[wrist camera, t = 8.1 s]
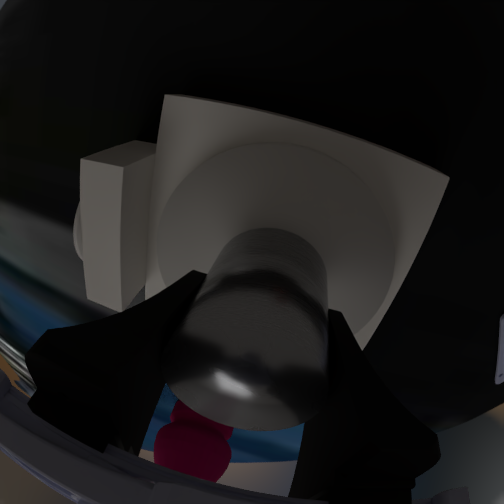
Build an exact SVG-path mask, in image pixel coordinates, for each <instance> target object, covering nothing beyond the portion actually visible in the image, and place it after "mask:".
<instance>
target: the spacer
mask: <svg viewBox="0 0 504 504" xmlns="http://www.w3.org/2000/svg"><path fill="white" fill-rule="evenodd" d="M161 370H162V374H163V377H164V379H165V381H166V383H167V385H168V386H169V388H170V389H171V390H172V392H173V393H174V394H175V395H176V396H177V397H178V398H179V399H180V400H181V401H182V402H183V403H184V404H185V405H187V406H188V407H189V408H191V409H192V410H194V411H195V412H197V413H199V414H200V415H202V416H204V417H206V418H208V419H210V420H213V421H215V422H218V423H221V424H224V425H227V426H231V427H234V428H239V429H245V430H254V431H273V430H281V429H286V428H290V427H294V426H297V425H299V424H302V423H304V422H306V421H308V420H310V419H311V418H312V417H314V416H315V415H316V414H317V413H318V412H319V411H320V410H321V409H322V408H323V406H324V405H325V402H326V400H327V397H328V387H329V315H328V282H327V271H326V267H325V264H324V262H323V260H322V258H321V256H320V255H319V253H318V252H317V251H316V249H315V248H314V247H313V246H312V245H311V244H310V243H309V242H307V241H306V240H305V239H303V238H302V237H300V236H298V235H296V234H294V233H292V232H289V231H286V230H282V229H278V228H256V229H252V230H248V231H245V232H243V233H240V234H239V235H237V236H235V237H234V238H232V239H231V240H230V241H229V242H228V243H227V244H226V245H225V246H224V247H223V249H222V250H221V252H220V253H219V255H218V257H217V258H216V260H215V262H214V264H213V265H212V267H211V269H210V270H209V272H208V274H207V275H206V277H205V279H204V280H203V282H202V284H201V286H200V287H199V289H198V291H197V292H196V294H195V296H194V298H193V299H192V301H191V303H190V304H189V306H188V308H187V310H186V311H185V313H184V315H183V317H182V318H181V320H180V322H179V324H178V325H177V327H176V329H175V331H174V332H173V334H172V336H171V338H170V339H169V341H168V343H167V345H166V346H165V348H164V350H163V353H162V356H161Z"/></svg>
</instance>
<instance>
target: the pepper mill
mask: <svg viewBox="0 0 504 504" xmlns="http://www.w3.org/2000/svg"><path fill="white" fill-rule="evenodd" d="M170 419H171V421H172V423H169V424H167V425H165V426H163V427H162V428H161V429H160V430H159V431H158V433H157V436H156V439H155V443H154V462H155V464H158V465H161V466H164V467H166V468H169V469H172V470H175V471H178V472H181V473H184V474H187V475H190V476H194V477H197V478H200V479H204V480H207V481H211V482H215V483H216V482H217V480H218V479H219V478H220V477H221V476H222V475H223V473H224V472H225V470H226V469H227V467H228V465H229V462H230V459H231V449H230V446H229V444H228V442H227V441H226V440H228V439H229V438H230V437H231V435H232V431H233V428H234V427H231V426H227V425H224V424H221V423H218V422H215V421H213V420H210V419H208V418H206V417H204V416H202V415H200V414H199V413H197V412H195V411H194V410H192V409H191V408H189V407H188V406H187V405H185V404H184V403H183V402H182V401H181V400H179V401H177V402H176V404H175V406H174V409H173V411H172V413H171V416H170Z"/></svg>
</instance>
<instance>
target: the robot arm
mask: <svg viewBox="0 0 504 504" xmlns="http://www.w3.org/2000/svg"><path fill="white" fill-rule="evenodd" d="M206 275H207V274H206V273H202V272H199V271H196V270H192V271H190V272H188V273H187V274H186V275H184V276H183V277H181V278H180V279H179V280H177V281H176V282H174V283H173V284H171V285H170V286H168V287H167V288H165V289H164V290H162V291H160V292H159V293H157V294H156V295H154V296H152V297H150V298H149V299H147V300H145V301H143V302H141V303H139V304H138V305H136V306H133V307H131V308H129V309H127V310H125V311H122V312H120V313H117V314H114V315H111V316H109V317H106V318H103V319H100V320H96V321H93V322H89V323H85V324H80V325H75V326H70V327H63V328H56V329H48V330H47V331H46V332H45V333H44V334H43V335H42V336H41V337H40V338H39V339H38V340H37V342H36V343H35V344H34V345H33V346H32V347H31V349H30V350H29V351H28V352H27V354H26V355H25V363H26V366H27V368H28V370H29V373H30V375H31V377H32V379H33V381H34V383H35V384H36V386H37V388H38V389H37V390H36V392H35V393H34V394H33V396H32V397H31V398H29V397H27V396H26V395H25V394H23V393H22V392H20V391H19V390H18V389H16V388H15V387H14V386H12V385H11V382H10V380H9V378H8V377H7V375H6V374H5V373H4V372H3V371H2V370H1V369H0V450H1V451H2V452H3V453H5V454H6V455H7V456H8V457H9V458H11V459H12V460H13V461H14V462H16V463H17V464H19V465H20V466H21V467H22V468H24V469H25V470H26V471H28V472H29V473H30V474H32V475H33V476H35V477H36V478H37V479H39V480H40V481H42V482H43V483H45V484H46V485H48V486H49V487H51V488H52V489H54V490H55V491H57V492H59V493H60V494H62V495H63V496H65V497H67V498H68V499H70V500H72V501H73V502H75V503H77V504H470V500H469V492H468V487H462V488H456V489H450V490H446V491H443V492H441V493H439V494H437V495H435V496H434V497H433V498H428V499H419V500H412V498H411V489H413V488H414V487H415V478H416V477H418V476H420V475H421V474H423V473H424V472H426V471H427V470H429V469H430V468H432V467H433V466H434V465H435V464H436V463H437V462H438V460H439V459H440V457H441V453H440V448H439V442H438V437H437V434H436V433H434V432H433V431H432V430H430V429H429V428H428V427H427V426H425V425H424V424H423V423H421V422H420V421H419V420H418V419H417V418H416V417H415V416H414V415H412V414H411V413H410V412H409V411H408V410H407V409H406V408H405V407H404V406H403V405H402V404H401V403H400V402H399V401H398V399H397V398H396V397H395V396H394V395H393V394H392V393H391V392H390V390H389V389H388V388H387V387H386V385H385V384H384V383H383V381H382V380H381V379H380V377H379V376H378V375H377V373H376V372H375V371H374V369H373V368H372V366H371V364H370V363H369V361H368V360H367V358H366V356H365V355H364V353H363V351H362V350H361V348H360V346H359V344H358V342H357V341H356V339H355V337H354V335H353V333H352V331H351V329H350V327H349V325H348V323H347V321H346V320H345V318H344V316H343V314H342V312H340V311H337V310H333V309H329V308H328V315H329V387H328V397H327V400H326V402H325V405H324V406H323V408H322V409H321V410H320V411H319V412H318V413H317V414H316V415H315V416H314V417H312V418H311V419H310V420H308V421H306V422H305V424H304V430H303V436H302V442H301V447H300V452H299V457H298V461H297V465H296V469H295V474H294V478H293V482H292V485H291V488H290V492H289V495H288V497H283V496H277V495H270V494H265V493H259V492H254V491H249V490H244V489H239V488H235V487H231V486H226V485H222V484H219V483H215V482H211V481H207V480H204V479H200V478H197V477H194V476H190V475H187V474H184V473H181V472H178V471H175V470H172V469H169V468H166V467H164V466H161V465H158V464H155V463H153V462H150V461H148V460H145V459H143V458H140V457H138V456H139V453H140V450H141V447H142V444H143V441H144V438H145V435H146V432H147V429H148V426H149V424H150V421H151V418H152V416H153V413H154V410H155V408H156V405H157V403H158V400H159V398H160V395H161V393H162V390H163V388H164V386H165V383H166V381H165V379H164V377H163V374H162V370H161V356H162V353H163V350H164V348H165V346H166V345H167V343H168V341H169V339H170V338H171V336H172V334H173V332H174V331H175V329H176V327H177V325H178V324H179V322H180V320H181V318H182V317H183V315H184V313H185V311H186V310H187V308H188V306H189V304H190V303H191V301H192V299H193V298H194V296H195V294H196V292H197V291H198V289H199V287H200V286H201V284H202V282H203V280H204V279H205V277H206ZM502 382H504V314H503V315H502V316H501V318H500V330H499V346H498V358H497V367H496V375H495V383H496V384H500V383H502Z"/></svg>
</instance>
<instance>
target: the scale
mask: <svg viewBox="0 0 504 504" xmlns="http://www.w3.org/2000/svg"><path fill="white" fill-rule="evenodd" d="M448 181H449V177H448V176H446V175H445V174H443V173H442V172H440V171H438V170H437V169H435V168H433V167H431V166H429V165H426V164H424V163H422V162H420V161H417V160H415V159H413V158H410V157H408V156H405V155H403V154H401V153H398V152H396V151H393V150H391V149H388V148H385V147H383V146H380V145H378V144H375V143H372V142H369V141H367V140H364V139H361V138H358V137H355V136H352V135H349V134H347V133H344V132H340V131H337V130H334V129H331V128H328V127H325V126H321V125H318V124H315V123H311V122H308V121H304V120H301V119H297V118H294V117H290V116H286V115H282V114H278V113H274V112H270V111H266V110H262V109H257V108H253V107H248V106H244V105H239V104H234V103H229V102H224V101H218V100H213V99H207V98H201V97H195V96H188V95H181V94H165V97H164V102H163V108H162V114H161V120H160V126H159V133H158V139H157V144H154V143H148V142H143V141H137V140H134V141H131V142H128V143H125V144H121V145H118V146H115V147H112V148H109V149H106V150H104V151H101V152H98V153H95V154H92V155H89V156H87V157H84V158H81V166H80V203H79V205H78V209H77V212H76V216H75V221H74V231H73V236H74V245H75V249H76V252H77V254H78V256H79V257H80V258H81V260H83V264H84V275H85V283H86V292H87V299H89V300H92V301H94V302H96V303H99V304H101V305H103V306H106V307H108V308H111V309H113V310H116V311H118V312H122V311H124V310H125V309H126V308H127V306H128V305H129V304H130V303H131V301H132V300H133V299H134V297H135V296H136V295H137V294H138V292H139V291H140V290H141V289H142V287H143V286H144V285H145V300H147V299H149V298H150V297H152V296H154V295H156V294H157V293H159V292H160V291H162V290H164V289H165V288H167V287H168V286H170V285H171V284H173V283H174V282H176V281H177V280H179V279H180V278H181V277H183V276H184V275H186V274H187V273H188V272H190V271H192V270H196V271H199V272H202V273H206V274H208V272H209V270H210V269H211V267H212V265H213V264H214V262H215V260H216V258H217V257H218V255H219V253H220V252H221V250H222V249H223V247H224V246H225V245H226V244H227V243H228V242H229V241H230V240H231V239H232V238H234V237H235V236H237V235H239V234H240V233H243V232H245V231H248V230H252V229H256V228H278V229H282V230H286V231H289V232H292V233H294V234H296V235H298V236H300V237H302V238H303V239H305V240H306V241H307V242H309V243H310V244H311V245H312V246H313V247H314V248H315V249H316V251H317V252H318V253H319V255H320V256H321V258H322V260H323V262H324V264H325V267H326V271H327V282H328V308H329V309H333V310H337V311H340V312H342V314H343V316H344V318H345V320H346V321H347V323H348V325H349V327H350V329H351V331H352V333H353V335H354V337H355V339H356V341H357V342H358V344H359V346H360V348H361V350H363V349H364V347H365V346H366V344H367V343H368V341H369V339H370V338H371V336H372V335H373V333H374V331H375V330H376V328H377V326H378V325H379V323H380V322H381V320H382V318H383V316H384V315H385V313H386V311H387V310H388V308H389V306H390V304H391V303H392V301H393V299H394V297H395V295H396V294H397V292H398V290H399V288H400V286H401V284H402V283H403V281H404V279H405V277H406V275H407V273H408V271H409V269H410V267H411V265H412V263H413V261H414V259H415V257H416V255H417V253H418V251H419V249H420V247H421V245H422V243H423V240H424V238H425V236H426V234H427V232H428V230H429V227H430V225H431V223H432V221H433V218H434V216H435V214H436V211H437V209H438V206H439V204H440V202H441V199H442V197H443V194H444V191H445V189H446V186H447V184H448Z"/></svg>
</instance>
